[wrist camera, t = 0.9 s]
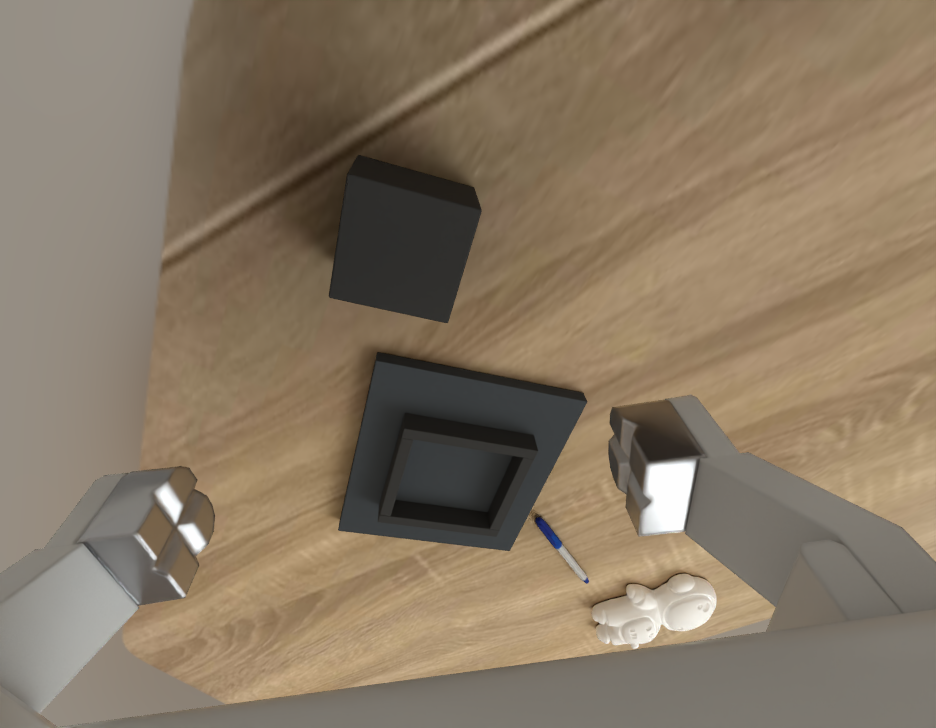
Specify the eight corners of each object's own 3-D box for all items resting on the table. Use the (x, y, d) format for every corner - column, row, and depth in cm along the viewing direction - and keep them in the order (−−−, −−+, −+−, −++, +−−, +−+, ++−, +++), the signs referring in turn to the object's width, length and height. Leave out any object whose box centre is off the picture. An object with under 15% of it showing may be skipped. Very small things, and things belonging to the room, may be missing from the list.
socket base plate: (339, 520, 39) (334, 548, 37) (377, 351, 30) (373, 375, 28) (508, 541, 42) (512, 568, 40) (583, 392, 33) (594, 417, 31)
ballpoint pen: (530, 518, 40) (533, 528, 39) (540, 513, 40) (543, 524, 39) (583, 578, 45) (586, 589, 45) (591, 575, 45) (595, 585, 44)
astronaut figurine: (587, 590, 47) (596, 622, 44) (714, 566, 46) (731, 596, 43) (593, 636, 51) (602, 667, 49) (708, 615, 51) (723, 645, 48)
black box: (340, 266, 27) (328, 298, 24) (357, 154, 24) (347, 173, 21) (445, 290, 29) (447, 324, 25) (474, 187, 25) (482, 209, 22)
